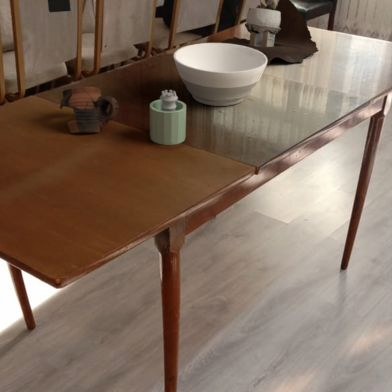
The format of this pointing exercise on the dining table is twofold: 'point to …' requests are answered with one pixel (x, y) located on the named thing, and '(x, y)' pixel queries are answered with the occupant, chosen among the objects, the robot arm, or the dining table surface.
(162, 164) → the dining table surface
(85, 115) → the pottery mug
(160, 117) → the green cylindrical cup
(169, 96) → the rook chess piece
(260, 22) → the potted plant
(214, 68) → the bowl
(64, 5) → the robot arm
